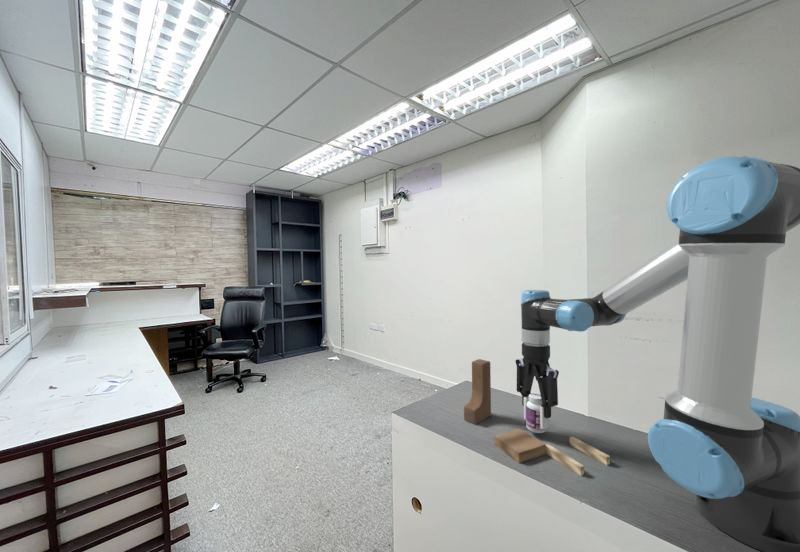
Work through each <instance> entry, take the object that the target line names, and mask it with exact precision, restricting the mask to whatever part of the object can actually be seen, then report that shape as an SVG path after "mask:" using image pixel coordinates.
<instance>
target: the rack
mask: <svg viewBox="0 0 800 552" xmlns="http://www.w3.org/2000/svg"><path fill="white" fill-rule="evenodd" d="M569 445H570V446H572V447H573V448H575V449H576V450H579V451H580V452H582V453H584V454H586V455H587V456H589V457H591V458H592V459H595V460H596V461H598V462H600V463H601V464H603V465H605V466H610V465H611V457H610V455H609V454H607V453H605V452H603V451H601V450H599V449H597V448H596V447H594V446H592V445H590V444H588V443H586V442H585V441H582V440H580V439H579V438H577V437H575V436H569ZM545 455H548V456H549V457H551V458H552V459H553V460H555V461H557V462H558V463H560V464H562V465H563V466H565V467H567V468H568V469H569V470H570V471H572V472H574V473H576V474H577V475H578V476H584V475H585V465H584V464H582V463H580V462H579V461H577V460H575V459H574V458H572V457H571V456H569V455H567V454H565V452H562V451H560V450H559V449H557V448H556V447H554V446H552V445H550V444H549V443H548V444H546V454H545Z"/></svg>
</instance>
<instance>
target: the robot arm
mask: <svg viewBox="0 0 800 552" xmlns="http://www.w3.org/2000/svg"><path fill="white" fill-rule="evenodd" d="M666 212H667V216H668V218H669V220H670V221H671V222H672V223H673V224H674V225H675V226H676V227H677V228H678V229H679V235H678V239H677V240H676V241H674V242H673V243H672V244H670V245H669V246H667V247H665V248H664V249H663V250H661V251H660V252H659V253H657V254H655V255H654V256H653V257H651V258H650V259H648V260H647V261H645V262H644V263H642V264H641V265H639V266H638V267H636V268H635V269H633V271H631V272H629V273H628V274H626V275H624V276H623V277H621V278H620V279H619V280H618V281H616V282H615V283H613V284H611V285H610V286H608V287H607V288H606V289H604V290H603V291H602V292H600V293H598V294H596V296H593V297H588V298H587V297H585V298H573V299H572V298H571V299H562V298H551V295H550V292H549V291H548V290H544V289H525V290H523V291H522V292H521V301H520V308H521V311H520V312H521V341H522V344H521V355H522V357H523V358H518V359H515V365H516V391H517V392H518V393H520V395H521V403H522V406H523V420H525V421H526V404H527V402H528V401H529V394H532V387H533V384H534V378H535V380H536V381H537V384H538V390H539V395H541V399H542V405H540V428H541V429H546V430H547V429H549V428H550V418H552V408H553V407H556V406H558V405H559V394H558V377H559V373H560V372H559V370H558V369H555V370H554V368H552V367H551V366H550V365H551V364H550V361H549V360H550V358H551V345H550V342H551V338H550V337H551V332H550V331H551V327H552V328H553V327H554V328H557V329H563V330H566V331H568V332H580V333H581V332H585V331H587V330H588V329H589V328H591V327H600V326H604V327H605V326H612V325H615V324H619V323H621V322H622V321H624V319H625V317H626V316H627V314H628V313H630V312H631V311H634V310H636V309H637V308H639V307H641V306H643V305H644V304H647V303H648V302H650V301H652V300H653V299H655V298H657V297H658V296H661V295H662V294H664V293H665V292H667V291H669V290H671V289H673V288H675V287H677V286H678V285H680V284H681V283H684V282H686V281H687V282H686V292H685V301H684V313H683V314H684V315H683V316H684V317H683V326H682V335H681V336H682V337H681V346H680V347H681V348H680V357H679V358H680V359H679V368H678V369H679V370H678V381H677V389H676V390H674V391H672V392H669V393H667V394H666V396H665V399H664V409H663V419H660V420H658V421H656V422H654V424H652V426H651V427H650V428H649V430H648V432H647V433H648V434H647V443H648V447H649V450H650V452H651V454H652V456H653V458H654V460H655V462H656V463H658V464H659V465H660V467H661V469H662V471H663V472H664V473H665V474H666V475H667V476H668V477H669V478H671V480H672V481H674V482H675V483H677V485H679V486H680V487H682V488H684V489H685V490H687V491H689V492H691V493H692V494H694V504H695V507H696V509H697V511H698V512H699V513H700V514H701V516H702V517H704V518H705V519H706V520H707V521H708V522H709V523H710V524H712V525H713V526H715V528H717V529H718V530H720V531H722V532H723V533H725V534H726V535H729V536H730V537H731V538H733V539H736V540H737V541H739V542H741V543H743V544H745V545H748V546H749V547H751V548H753V549H757V550H759V551H761V552H800V415H799V414H798V413H797V412H796V411H794V410H792V409H790V408H788V407H785V406H784V405H783V406H782V405H780V404H777V403H774V402H770V401H766V400H763V399H759V398H757V397H756V398H755V397H753V388H754V379H755V372H756V371H755V370H756V369H755V368H756V361H757V354H758V353H757V352H758V342H759V332H760V324H761V314H762V306H763V299H764V298H763V295H764V289H765V288H764V287H765V278H766V270H767V269H766V268H767V261H768V257H769V256H770V255H772V254H773V253H774V252H776V251H778V250H779V249H782V248H783V247H785V244H786V237H787V236H786V235H787V232H789V231H790V230H792V229H794V228H795V227H797V226H799V225H800V168H799V167H797V166H793V165H791V164H783V163H778V162H777V163H776V162H772V161H767V160H765V159H763V158H759V157H756V156H746V155H745V156H722V157H718V158H714V159H710V160H707V161H705V162H702V163H701V164H699V165H695V166H694V167H693V168H691V169H690V170H688V172H686V173H685V174H684V175H683V176H682V177H680V178H679V179H678V180H677V182H675V183H674V185H673V187H672V188H671V190H670V192H669V194H668V197H667V201H666Z"/></svg>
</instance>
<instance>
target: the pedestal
mask: <svg viewBox="0 0 800 552" xmlns="http://www.w3.org/2000/svg"><path fill="white" fill-rule="evenodd" d="M493 440H494V445H495V446H496V447H497V448H498V449H499V450H502V452H504V453H505V454H506V455H508V456H509V457H510V458H512V459H513V460H515V461H516V462H517V463H519V464H520V463H523V462H526V461H529V460H532V459H535V458H538V457H541V456H544V455H547V454H546V445H547V444H546V443H544V442H542V441H541V440H539V439H537V438H536V437H534V436H533V435H531V434H529V433H528V432H526V431H524V430H523V429H521V428H516V429H513V430H510V431H506V432H505V431H504V432H502V433H499V434H498V433H497V434H496V435H494V438H493Z"/></svg>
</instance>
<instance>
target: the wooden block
mask: <svg viewBox="0 0 800 552" xmlns="http://www.w3.org/2000/svg"><path fill="white" fill-rule="evenodd" d="M491 379H492V378H491V361H488V360H484V359H481V358H480V359H479V358H478V359H476V360H473V361H471V397H470V400H469V401H468V402H467V404H465V405H464V406H463V419H464V421H466V422H469V423H471V424H472V425H473V424H474V425H477V424H478V423H480V422H482V421H483V420H486V419H487V418H489V417H491V415H492V401H491V399H492V396H491V393H492V390H491V389H492V388H491V385H492V384H491Z"/></svg>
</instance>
